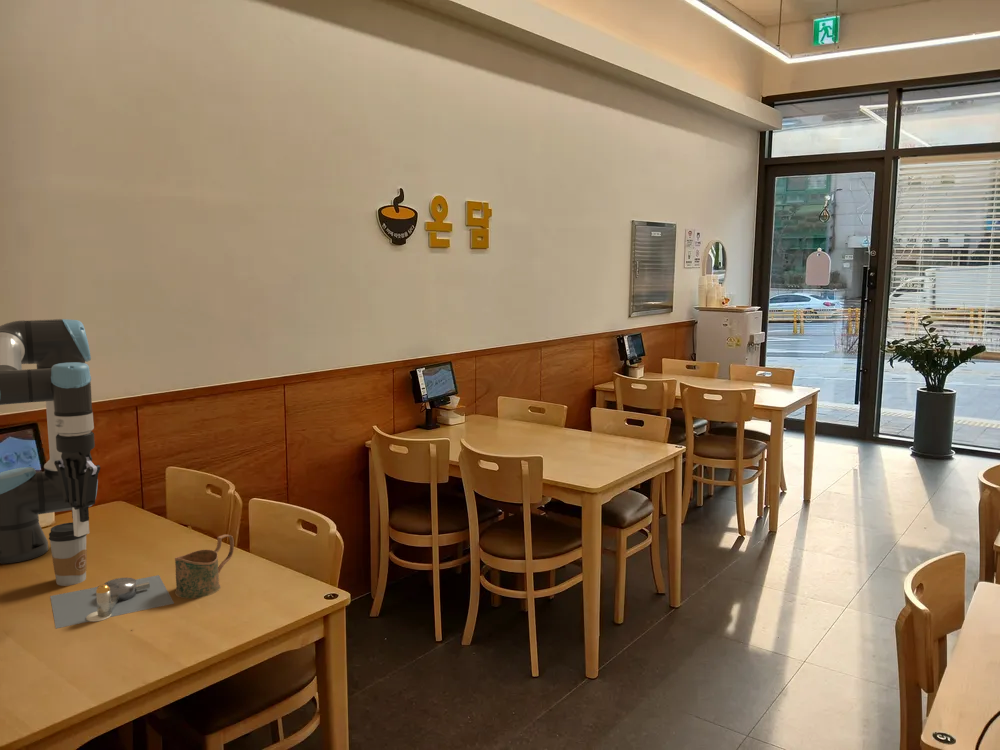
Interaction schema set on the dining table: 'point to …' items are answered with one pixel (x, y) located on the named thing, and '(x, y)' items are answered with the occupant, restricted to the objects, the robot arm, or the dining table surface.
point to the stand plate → (84, 608)
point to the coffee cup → (68, 554)
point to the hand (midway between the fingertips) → (81, 534)
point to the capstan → (116, 593)
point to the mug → (200, 571)
